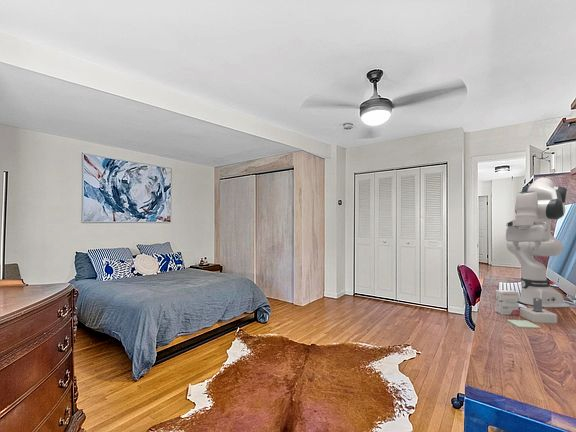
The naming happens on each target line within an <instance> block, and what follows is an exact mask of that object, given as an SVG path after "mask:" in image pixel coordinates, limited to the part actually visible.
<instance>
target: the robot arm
mask: <svg viewBox="0 0 576 432" xmlns="http://www.w3.org/2000/svg"><path fill="white" fill-rule="evenodd" d="M569 195H570V194H569V191H568V188H567V187H564V186H555V184H554V182H553V180H552V179H551V178H548V177H540V178H536V179H535V180H534V181H532V182H531V183H530V184H528V185H527V186H524V187H523V188H522V189H521V191H520V192H517V195H516V197H515V206H514V207H515V208H514V212H515V218H513V219H512V220H510V221H508V222H506V223H505V224H506V230H505V239H506V248H507V250H508V252H510V253H511V254H513V255H514V256H515V257H516V258H517V260H518V261H519V264H520V269H521V278H520V286H521V290H520V292H521V293H520V295H519V296H520V297H519V298H518V300H519V303H522V304H526V305H530V306H531V305H532V306H533V298H539V299H542V308H570V307H571V305H570V304H569V303H566V302H565V299H564V296H563V294H562V293H560V292H559V291H557V290H556V289H554V288H553V287H551V286H554V285H555V281H552V280H548V279H547V268H546V266H545V264H544V263H542V262H540V261H537V259H535V257H534V256H537V257H538V256H540V257H556V256H559V255H560V254H561V253H562V251H563V249H564V248H563V244H562V242H561V241H560V240H559V239H558V238H557V237H555V236H553V234H552V233H551V225H552V220H560V219H561V218H563V217H564V216H565V213H566V206H565V203H566V201H568V199H569V197H570V196H569Z"/></svg>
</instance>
